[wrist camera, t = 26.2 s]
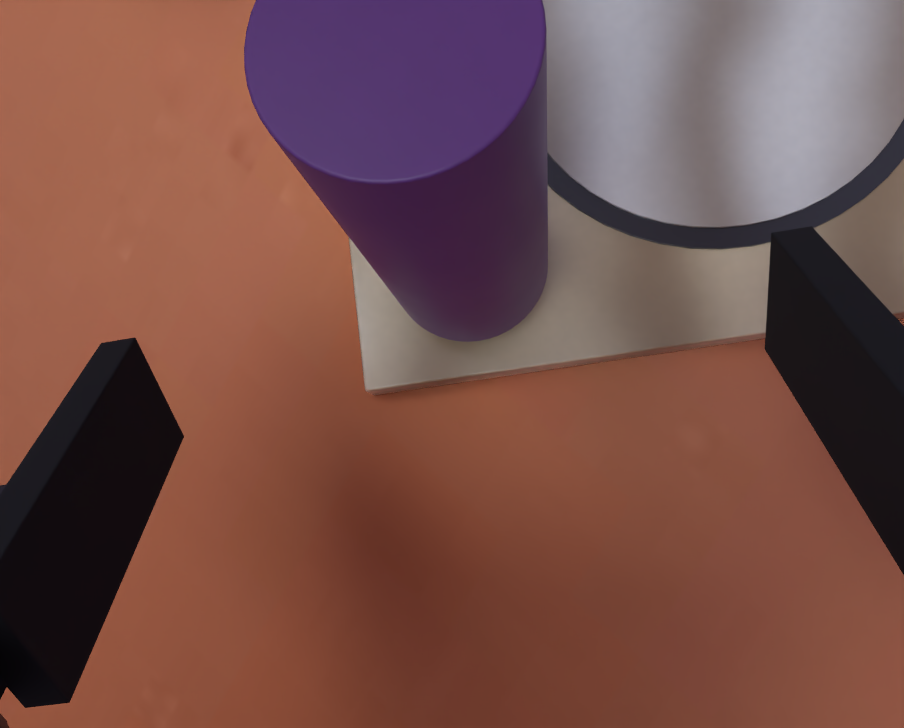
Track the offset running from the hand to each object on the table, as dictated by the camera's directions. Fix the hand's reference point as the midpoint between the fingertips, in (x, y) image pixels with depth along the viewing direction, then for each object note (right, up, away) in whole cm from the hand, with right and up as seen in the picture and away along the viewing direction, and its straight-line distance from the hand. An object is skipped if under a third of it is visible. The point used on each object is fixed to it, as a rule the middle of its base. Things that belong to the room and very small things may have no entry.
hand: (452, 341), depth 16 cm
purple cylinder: (+1, +2, +7) cm, 7 cm away
